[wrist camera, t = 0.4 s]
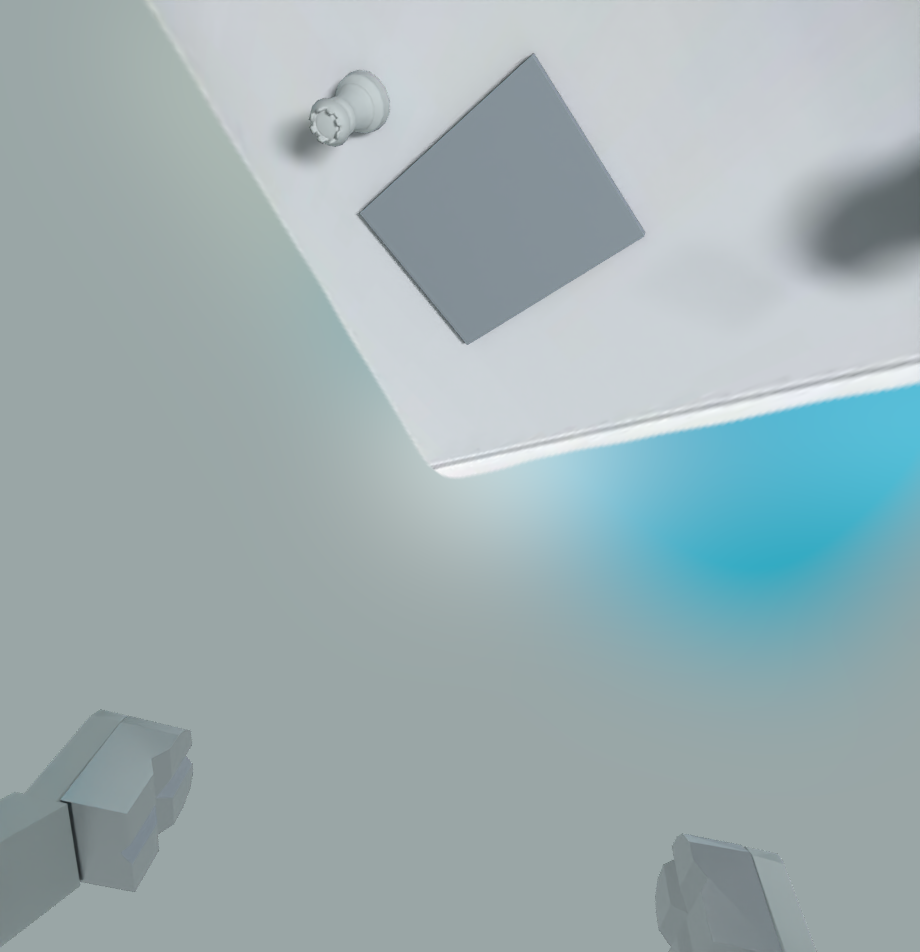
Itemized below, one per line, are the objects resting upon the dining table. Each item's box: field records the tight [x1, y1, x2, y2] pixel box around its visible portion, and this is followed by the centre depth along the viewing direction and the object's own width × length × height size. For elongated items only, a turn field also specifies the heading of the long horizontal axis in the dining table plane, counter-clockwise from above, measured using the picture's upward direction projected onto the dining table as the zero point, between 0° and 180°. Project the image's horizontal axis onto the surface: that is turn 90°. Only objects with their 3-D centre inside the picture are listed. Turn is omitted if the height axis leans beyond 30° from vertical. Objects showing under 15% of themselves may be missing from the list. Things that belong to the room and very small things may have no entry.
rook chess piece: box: [309, 70, 390, 147], centre depth 49 cm, size 4×4×8 cm
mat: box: [360, 53, 645, 345], centre depth 55 cm, size 20×16×1 cm
